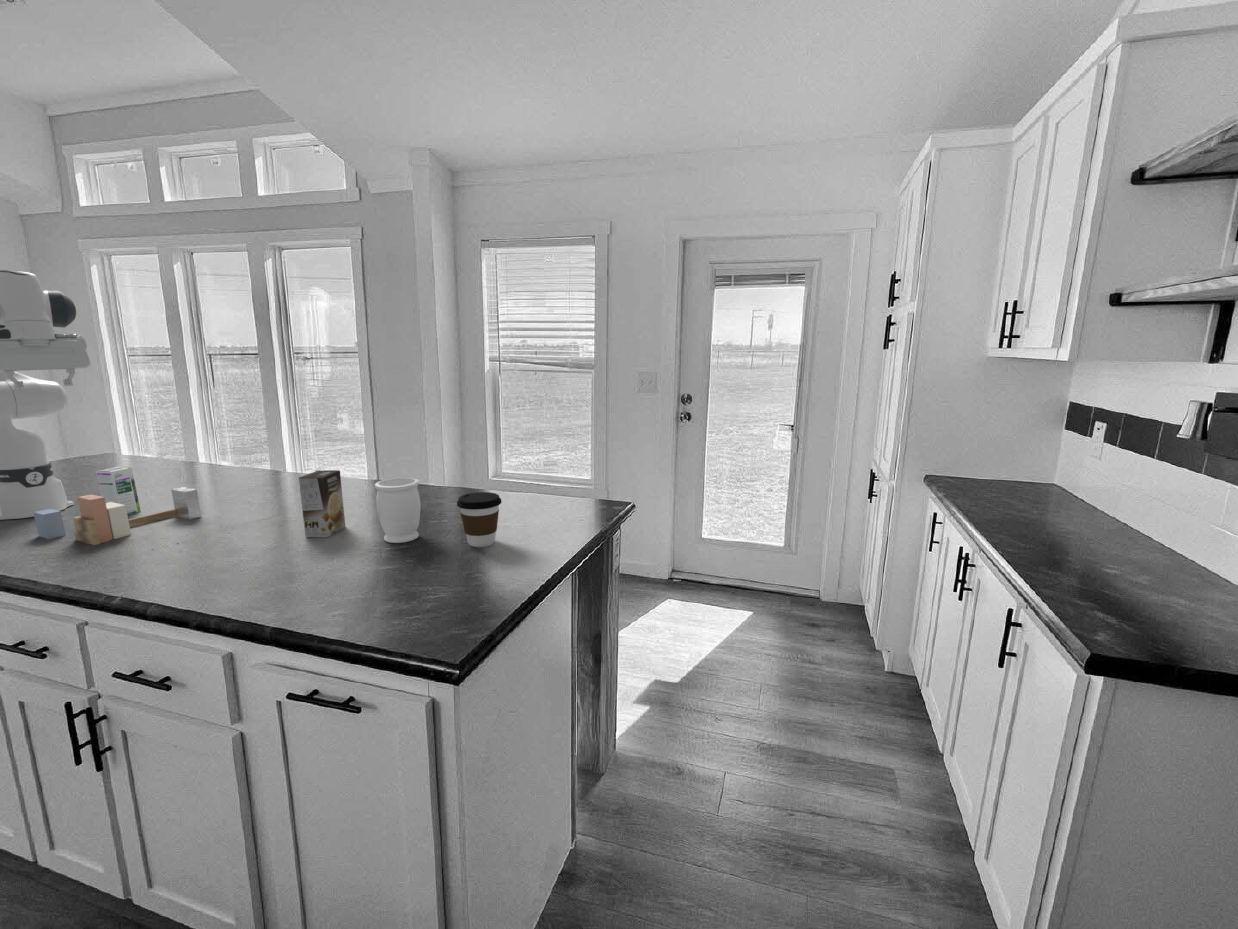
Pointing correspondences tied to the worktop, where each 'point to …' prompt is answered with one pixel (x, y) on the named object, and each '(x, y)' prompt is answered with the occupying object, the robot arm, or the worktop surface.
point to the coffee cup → (480, 517)
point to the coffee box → (322, 503)
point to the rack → (89, 534)
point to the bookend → (186, 503)
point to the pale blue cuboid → (49, 523)
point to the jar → (398, 508)
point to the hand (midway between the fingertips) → (44, 387)
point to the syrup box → (119, 487)
